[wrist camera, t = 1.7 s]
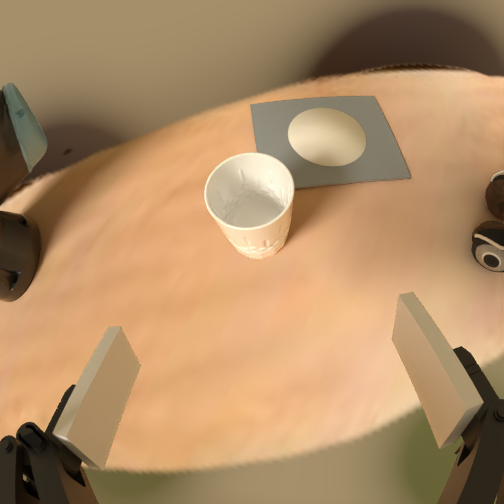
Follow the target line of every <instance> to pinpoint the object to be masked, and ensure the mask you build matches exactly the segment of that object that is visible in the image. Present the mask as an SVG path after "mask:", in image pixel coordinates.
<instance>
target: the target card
mask: <svg viewBox="0 0 504 504" xmlns="http://www.w3.org/2000/svg"><path fill="white" fill-rule="evenodd" d="M250 107H251V114H252V121H253V127H254V134H255V141H256V148H257V153H263V154H267V155H270V156H272V157H274V158H276V159H278V160H279V161H281V162H282V163H283V164H284V165H285V166H286V167H287V168H288V170H289V171H290V173H291V175H292V178H293V181H294V190H295V189H303V188H312V187H321V186H330V185H340V184H350V183H361V182H373V181H385V180H399V179H410V178H411V176H410V174H409V171H408V168H407V166H406V163H405V161H404V159H403V156H402V154H401V151H400V149H399V147H398V145H397V142H396V140H395V138H394V136H393V133H392V131H391V129H390V127H389V125H388V123H387V121H386V119H385V117H384V115H383V113H382V111H381V109H380V107H379V105H378V103H377V101H376V99H375V97H374V96H340V97H320V98H305V99H294V100H283V101H274V102H266V103H258V104H251V105H250Z"/></svg>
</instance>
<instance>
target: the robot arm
mask: <svg viewBox="0 0 504 504" xmlns="http://www.w3.org/2000/svg"><path fill="white" fill-rule="evenodd" d="M46 148H47V140H46V137H45V135H44V133H43V131H42V129H41V127H40V125H39V124H38V121H37V120H36V118H35V116H34V114H33V113H32V111H31V109H30V108H29V106H28V104H27V102H26V101H25V99H24V98H23V96H22V94H21V93H20V91H19V90H18V88H17V87H16V86H15V85H14V84H13V83H8V84H7V85H5V86H3V87H2V89H1V90H0V205H1V204H2V203H3V202H4V200H5V199H6V198H7V197H8V196H9V194H10V193H11V192H12V191H13V190H14V189H15V187H16V186H17V185H18V184H19V183H20V182H21V180H23V178H24V177H25V176H26V175H27V174H28V173H30V172H31V171H32V168H33V167H34V165H35V164H36V163H37V162H38V161H39V160H40V159H41V158H42V156H43V155H44V153H45V152H46ZM39 253H40V235H39V230H38V228H37V225H36V224H35V223H34V221H32V220H31V219H29V218H28V217H26V216H25V215H22V214H18V213H12V212H6V211H0V300H2V301H6V302H11V301H14V300H16V299H18V298H19V297H20V296H21V295H22V294H23V293H24V292H25V290H26V289H27V287H28V286H29V284H30V282H31V280H32V278H33V276H34V273H35V270H36V267H37V263H38V259H39ZM392 341H393V343H394V345H395V347H396V349H397V351H398V353H399V355H400V358H401V360H402V362H403V364H404V366H405V368H406V370H407V373H408V375H409V377H410V379H411V381H412V384H413V386H414V388H415V390H416V393H417V395H418V397H419V400H420V402H421V404H422V407H423V409H424V411H425V414H426V416H427V418H428V421H429V424H430V426H431V428H432V431H433V434H434V436H435V439H436V442H437V444H438V447H439V449H441V448H443V447H445V446H448V445H450V444H453V443H455V442H456V441H457V440H458V438H459V437H460V436H462V438H463V440H464V441H463V442H462V444H461V445H460V446H459V447H458V449H457V450H456V452H455V454H457V453H458V452H459V453H458V456H457V459H456V461H455V464H454V466H453V469H452V471H451V474H450V476H449V479H448V481H447V483H446V485H445V488H444V490H443V492H442V494H441V496H440V498H439V500H438V502H437V504H494V501H495V498H496V495H497V501H496V504H504V400H503V399H499V397H498V396H497V395H496V393H495V391H494V390H493V388H492V386H491V385H490V383H489V381H488V380H487V378H486V376H485V375H484V373H483V372H482V371H481V368H480V367H479V365H478V364H477V362H476V361H475V359H474V357H473V356H472V354H471V353H470V352H468V351H467V350H466V349H464V348H463V347H462V346H461V347H458V348H455V349H452V348H451V346H450V345H449V343H448V342H447V340H446V339H445V337H444V336H443V334H442V333H441V331H440V330H439V328H438V327H437V325H436V324H435V322H434V321H433V319H432V318H431V316H430V315H429V314H428V312H427V311H426V309H425V308H424V306H423V305H422V304H421V302H420V301H419V299H418V298H417V297H416V295H415V294H414V293H413V292H411V293H406V294H401V295H399V297H398V304H397V311H396V317H395V324H394V330H393V335H392ZM140 367H141V365H140V363H139V361H138V359H137V357H136V355H135V353H134V352H133V350H132V348H131V346H130V344H129V342H128V340H127V338H126V336H125V334H124V332H123V330H122V328H121V327H108V329H107V330H106V332H105V334H104V336H103V337H102V339H101V341H100V342H99V344H98V346H97V348H96V349H95V351H94V353H93V355H92V357H91V358H90V360H89V362H88V364H87V366H86V367H85V369H84V371H83V373H82V375H81V377H80V379H79V380H78V382H77V384H76V385H72V386H71V387H70V388H69V389H68V390H67V391H66V392H65V393H64V395H63V397H62V399H61V402H60V403H59V405H58V409H56V411H55V413H54V415H53V417H52V419H51V421H50V423H49V425H48V427H47V429H46V431H45V433H44V432H43V431H42V430H41V429H40V428H39V427H38V426H37V425H36V424H35V423H33V422H27V423H25V424H23V425H22V426H21V427H20V428H19V429H18V431H17V433H16V438H14V437H13V436H10V435H8V436H5V437H4V438H3V439H2V440H1V441H0V504H98V501H97V499H96V497H95V495H94V493H93V490H92V488H91V486H90V484H89V481H88V479H87V476H86V474H85V471H84V469H83V468H82V466H81V463H82V461H83V462H84V463H85V464H87V465H88V466H89V467H91V468H95V469H99V470H104V467H105V464H106V461H107V458H108V455H109V452H110V449H111V446H112V443H113V440H114V437H115V434H116V431H117V428H118V426H119V423H120V420H121V417H122V414H123V412H124V409H125V406H126V403H127V401H128V398H129V395H130V393H131V390H132V387H133V385H134V382H135V379H136V377H137V374H138V372H139V369H140ZM23 474H24V475H25V476H26V477H27V480H26V481H24V480H23ZM497 492H498V494H497Z"/></svg>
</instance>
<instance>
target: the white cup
mask: <svg viewBox="0 0 504 504" xmlns="http://www.w3.org/2000/svg"><path fill="white" fill-rule="evenodd" d="M204 196H205V203H206V206H207V208H208V210H209V212H210V213H211V215H212V216H213V218H214V219H215V221H216V222H217V224H218V225H219V227H220V228H221V230H222V231H223V233H224V234H225V235H226V237H227V238H228V239H229V241H230V242H231V243H232V244H233V245H234V246H235V248H236V249H237V251H238V252H240V253H242V254H243V255H245V256H247V257H248V258H257V259H263V258H266V257H269V256H272V255H275V254H276V253H277V252H278V251H279V250H280V249H281V248H282V247H283V246H284V244H285V241H286V239H287V236H288V232H289V227H290V222H291V216H292V207H293V198H294V181H293V178H292V175H291V173H290V171H289V170H288V168H287V167H286V166H285V165H284V164H283V163H282V162H281V161H279V160H278V159H276V158H274V157H272V156H270V155H267V154H263V153H256V152H249V153H242V154H238V155H235V156H232V157H230V158H228V159H226V160H225V161H223V162H222V163H220V164H219V165H218V166H217V167H216V168H215V169H214V170H213V171H212V173H211V174H210V176H209V178H208V180H207V182H206V186H205V192H204Z"/></svg>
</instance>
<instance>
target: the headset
mask: <svg viewBox="0 0 504 504" xmlns="http://www.w3.org/2000/svg"><path fill="white" fill-rule="evenodd" d="M502 173H504V170H502V171H500V172H497V173H495V174H494V175H493V176H492V177H491V182H490V184H489V186H488V188H487V189H486V196H485V197H486V201H487V204H488V208H489V209H490V211H491V212H492V214H494V215H495V216H496V217H497V218H499V219H501V220H503V221H504V175H499V174H502ZM497 175H499V176H497ZM496 176H497V177H496ZM472 241H473V245H472V254H473V256H474V258H475V259H476V261H477V262H478V263H479V264H481V265H482V266H483V267H484V268H486V269H488V270H490V271H493V272H504V224H503V223H501V222H497V221H486V222H484V223H482V224H481V225H480V226H479V227H477V228H476V229H475V231H474V232H473V236H472Z"/></svg>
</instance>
